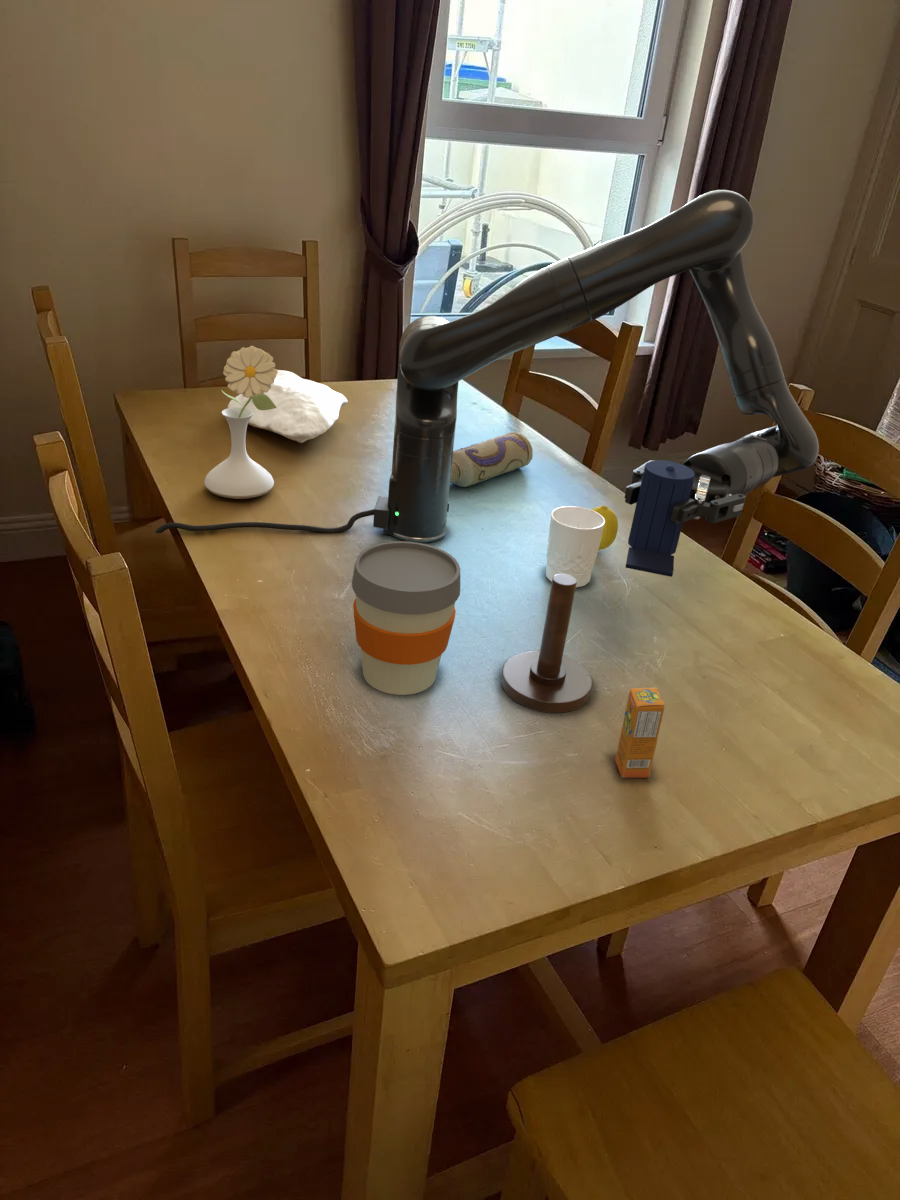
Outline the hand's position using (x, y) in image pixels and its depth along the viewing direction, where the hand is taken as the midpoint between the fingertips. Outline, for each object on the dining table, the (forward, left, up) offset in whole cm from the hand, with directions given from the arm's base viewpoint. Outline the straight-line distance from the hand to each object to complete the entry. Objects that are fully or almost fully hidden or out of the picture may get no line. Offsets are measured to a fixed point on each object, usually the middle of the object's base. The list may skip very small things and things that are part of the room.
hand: (651, 505), depth 105 cm
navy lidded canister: (+1, 0, -6) cm, 6 cm away
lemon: (0, +32, -22) cm, 39 cm away
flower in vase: (-59, +39, -22) cm, 74 cm away
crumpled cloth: (-58, +73, -22) cm, 96 cm away
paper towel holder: (-9, -7, -22) cm, 25 cm away
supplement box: (0, -21, -22) cm, 31 cm away
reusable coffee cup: (-27, -8, -22) cm, 36 cm away
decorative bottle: (-21, +57, -22) cm, 65 cm away
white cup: (-5, +22, -22) cm, 32 cm away
